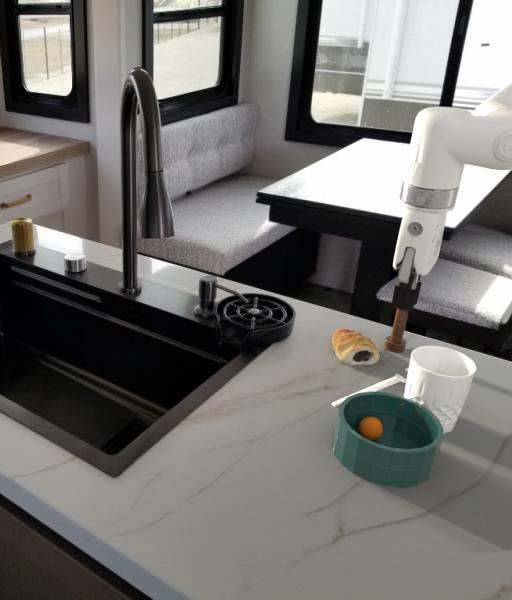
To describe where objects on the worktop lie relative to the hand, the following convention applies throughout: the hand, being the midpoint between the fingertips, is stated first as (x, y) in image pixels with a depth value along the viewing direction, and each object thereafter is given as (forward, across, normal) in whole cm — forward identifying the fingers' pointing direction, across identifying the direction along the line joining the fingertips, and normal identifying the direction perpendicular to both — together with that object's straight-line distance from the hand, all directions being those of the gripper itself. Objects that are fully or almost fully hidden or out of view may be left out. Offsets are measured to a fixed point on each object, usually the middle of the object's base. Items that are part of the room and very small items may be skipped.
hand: (403, 305), depth 102 cm
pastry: (+9, -6, +5) cm, 12 cm away
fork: (+9, -13, -1) cm, 15 cm away
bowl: (+9, -28, -6) cm, 30 cm away
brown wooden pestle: (+9, 0, 0) cm, 9 cm away
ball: (+8, -26, -3) cm, 27 cm away
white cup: (+9, -17, -9) cm, 21 cm away
